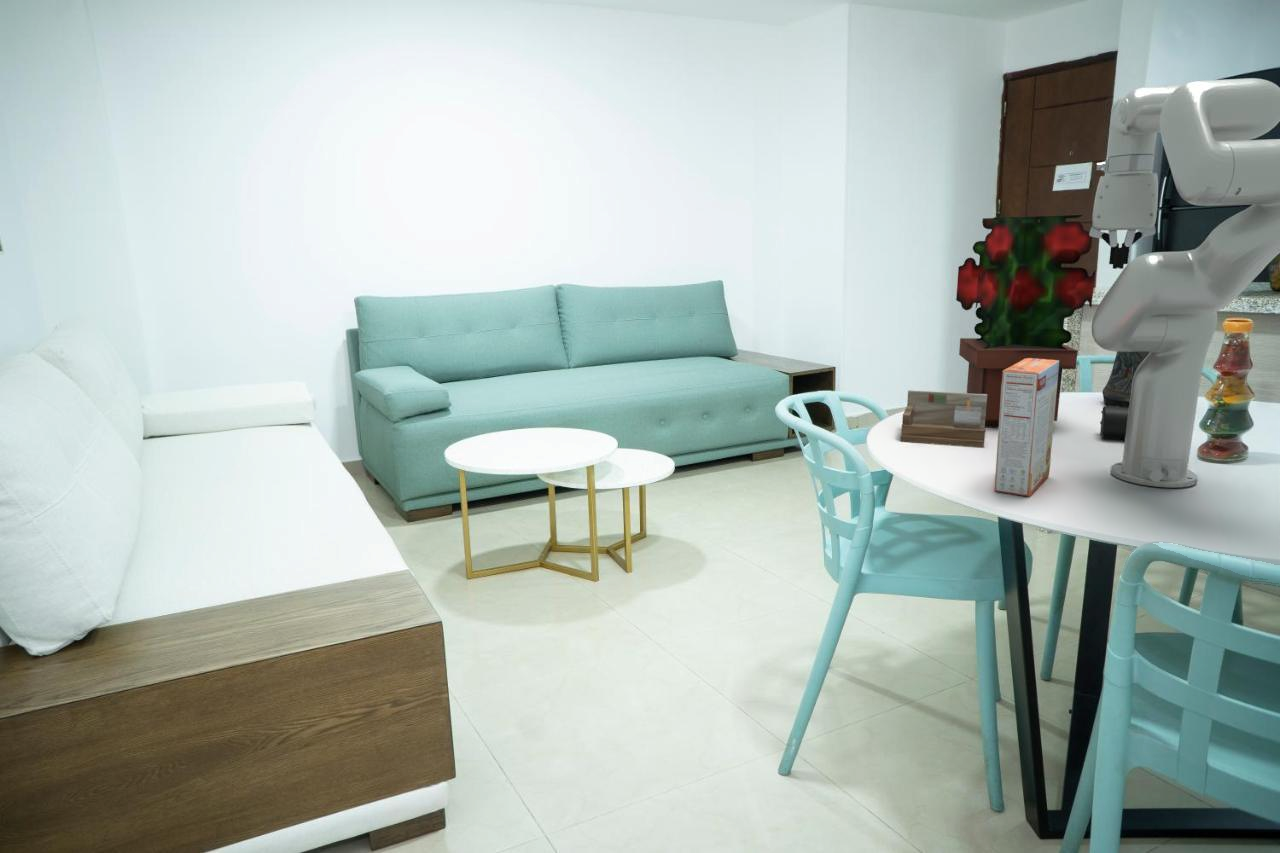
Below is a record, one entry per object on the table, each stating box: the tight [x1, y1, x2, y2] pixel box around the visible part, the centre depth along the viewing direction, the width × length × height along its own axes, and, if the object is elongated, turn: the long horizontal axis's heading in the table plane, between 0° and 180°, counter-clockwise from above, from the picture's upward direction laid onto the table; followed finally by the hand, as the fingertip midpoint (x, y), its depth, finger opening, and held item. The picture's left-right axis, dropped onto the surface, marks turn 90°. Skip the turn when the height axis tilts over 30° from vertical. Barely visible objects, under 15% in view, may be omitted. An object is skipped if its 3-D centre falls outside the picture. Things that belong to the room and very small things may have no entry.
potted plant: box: [955, 214, 1096, 427], centre depth 173 cm, size 22×22×45 cm
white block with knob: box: [954, 400, 981, 429], centre depth 164 cm, size 5×5×6 cm
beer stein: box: [1102, 351, 1150, 408], centre depth 185 cm, size 16×19×25 cm
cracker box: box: [993, 358, 1059, 497], centre depth 132 cm, size 14×6×21 cm, turn 141°
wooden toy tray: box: [900, 389, 987, 448], centre depth 166 cm, size 14×16×8 cm
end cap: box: [1099, 405, 1129, 441], centre depth 160 cm, size 10×7×7 cm
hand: (1117, 268), depth 149 cm, fingers closed
